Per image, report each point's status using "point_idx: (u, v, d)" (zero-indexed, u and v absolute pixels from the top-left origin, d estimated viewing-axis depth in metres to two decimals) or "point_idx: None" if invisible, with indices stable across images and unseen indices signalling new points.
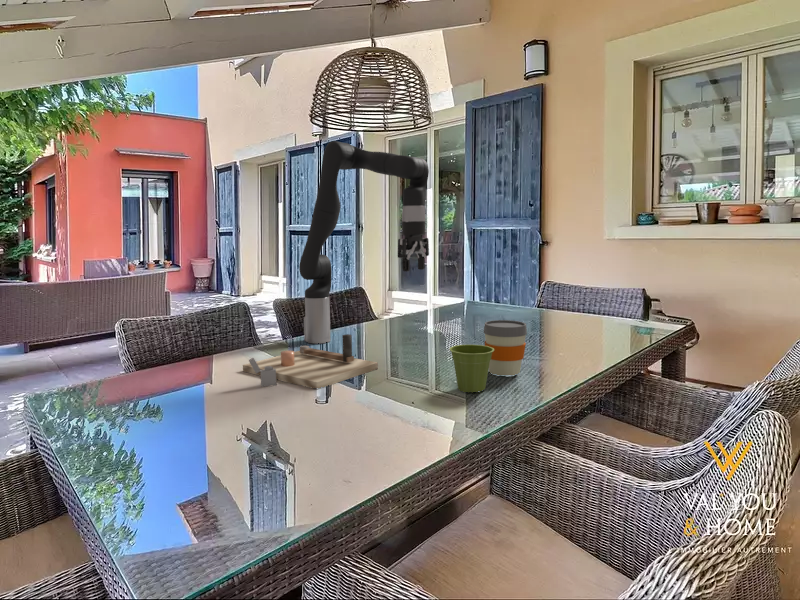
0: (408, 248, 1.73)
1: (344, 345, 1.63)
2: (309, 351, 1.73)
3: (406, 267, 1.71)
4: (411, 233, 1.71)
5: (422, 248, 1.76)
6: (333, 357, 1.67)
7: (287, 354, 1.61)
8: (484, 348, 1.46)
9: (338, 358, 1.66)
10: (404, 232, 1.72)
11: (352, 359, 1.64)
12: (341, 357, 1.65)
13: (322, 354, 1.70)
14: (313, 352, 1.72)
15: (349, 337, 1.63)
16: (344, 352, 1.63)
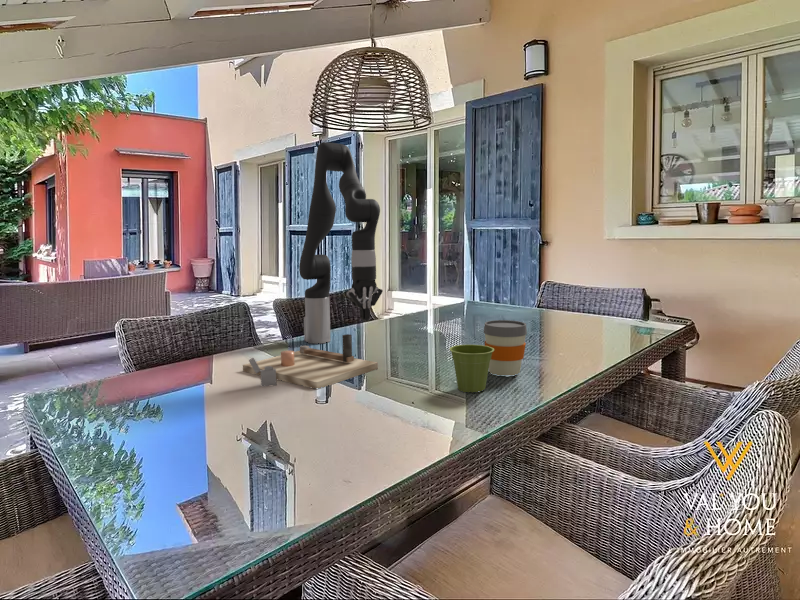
0: None
1: (344, 345, 1.63)
2: (309, 351, 1.73)
3: (363, 316, 1.66)
4: (357, 279, 1.63)
5: (370, 295, 1.66)
6: (333, 357, 1.67)
7: (287, 354, 1.61)
8: (484, 348, 1.46)
9: (338, 358, 1.66)
10: (352, 277, 1.64)
11: (352, 359, 1.64)
12: (341, 357, 1.65)
13: (322, 354, 1.70)
14: (313, 352, 1.72)
15: (349, 337, 1.63)
16: (344, 352, 1.63)
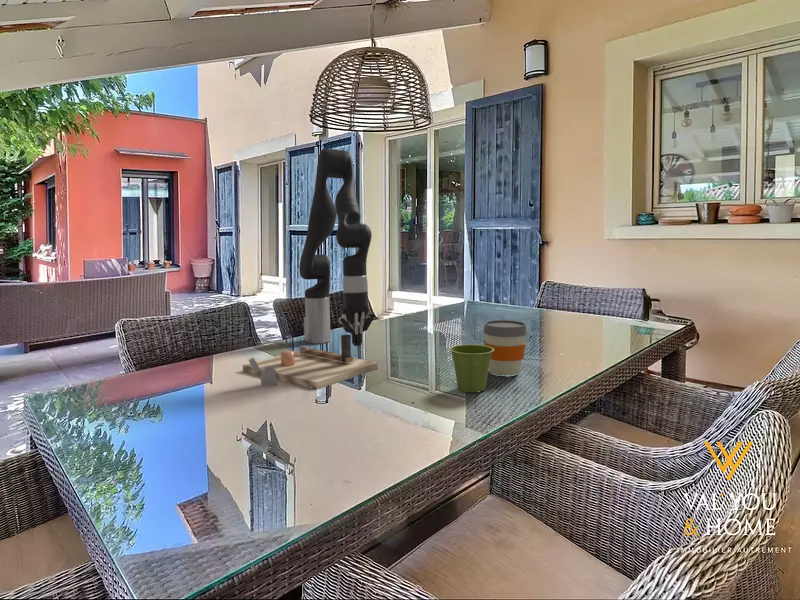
0: None
1: (343, 345, 1.63)
2: (309, 351, 1.73)
3: (355, 342, 1.65)
4: (349, 305, 1.61)
5: (362, 321, 1.65)
6: (332, 357, 1.66)
7: (287, 354, 1.61)
8: (484, 348, 1.46)
9: (337, 358, 1.65)
10: (344, 303, 1.63)
11: (351, 359, 1.64)
12: (340, 357, 1.64)
13: (321, 354, 1.69)
14: (313, 352, 1.72)
15: (348, 337, 1.62)
16: (343, 352, 1.63)
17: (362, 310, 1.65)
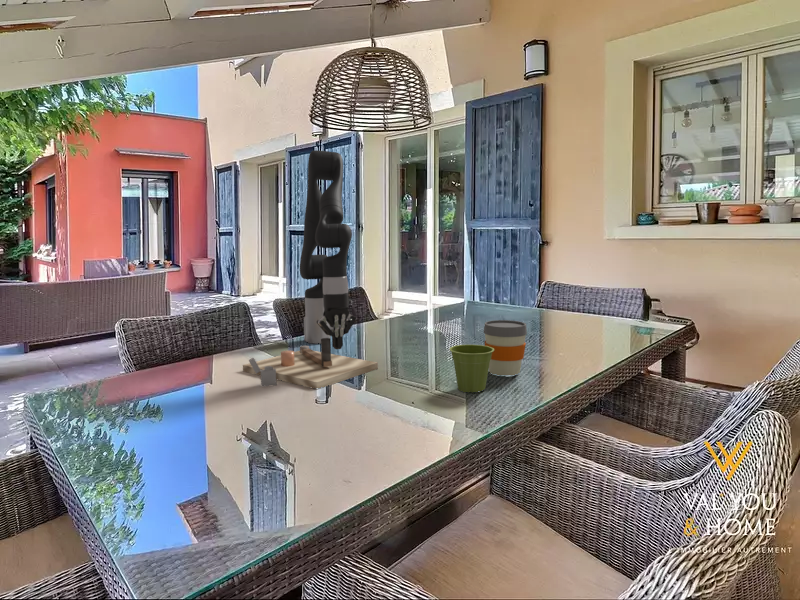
0: None
1: (321, 349, 1.58)
2: (304, 351, 1.72)
3: (335, 345, 1.60)
4: (329, 307, 1.57)
5: (342, 323, 1.60)
6: (316, 360, 1.63)
7: (287, 354, 1.61)
8: (484, 348, 1.46)
9: (319, 361, 1.62)
10: (323, 305, 1.58)
11: (330, 364, 1.59)
12: (320, 361, 1.60)
13: (311, 356, 1.67)
14: (306, 353, 1.71)
15: (326, 341, 1.58)
16: (321, 356, 1.59)
17: (343, 312, 1.60)
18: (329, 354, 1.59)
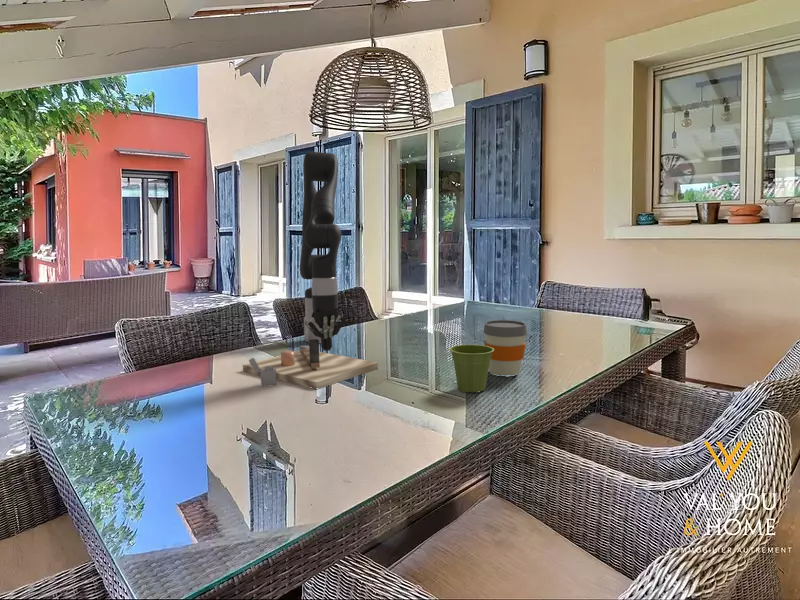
0: None
1: (309, 350, 1.57)
2: (302, 352, 1.72)
3: (324, 346, 1.59)
4: (317, 308, 1.55)
5: (331, 324, 1.58)
6: (307, 361, 1.62)
7: (287, 354, 1.61)
8: (484, 348, 1.46)
9: (309, 362, 1.60)
10: (312, 306, 1.57)
11: (317, 365, 1.57)
12: (309, 362, 1.59)
13: (305, 356, 1.67)
14: (303, 353, 1.71)
15: (313, 342, 1.56)
16: (309, 357, 1.58)
17: (332, 313, 1.59)
18: (317, 355, 1.57)
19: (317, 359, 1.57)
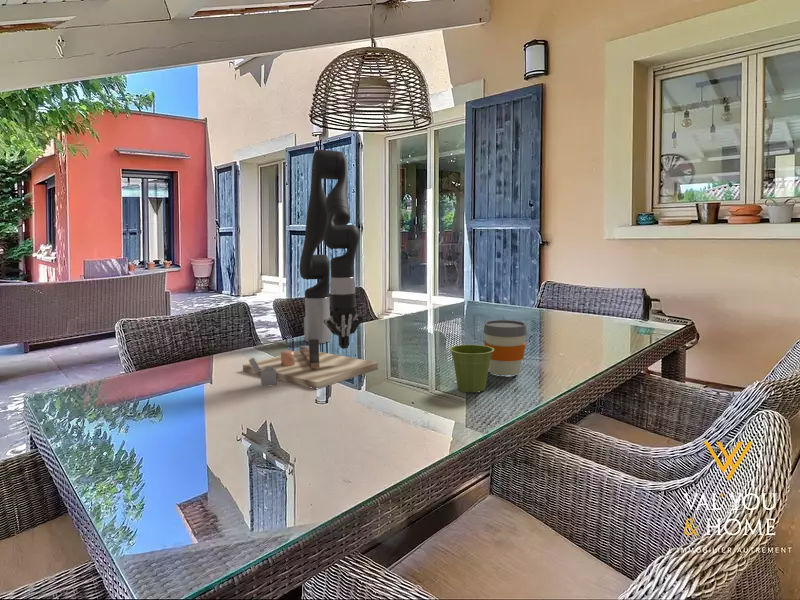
0: None
1: (309, 350, 1.57)
2: (302, 352, 1.72)
3: (342, 344, 1.63)
4: (336, 307, 1.59)
5: (349, 323, 1.62)
6: (307, 361, 1.62)
7: (287, 354, 1.61)
8: (484, 348, 1.46)
9: (308, 362, 1.60)
10: (331, 305, 1.61)
11: (317, 365, 1.57)
12: (309, 362, 1.59)
13: (305, 356, 1.67)
14: (303, 353, 1.71)
15: (313, 342, 1.56)
16: (309, 357, 1.58)
17: (349, 312, 1.63)
18: (316, 355, 1.57)
19: (317, 359, 1.57)
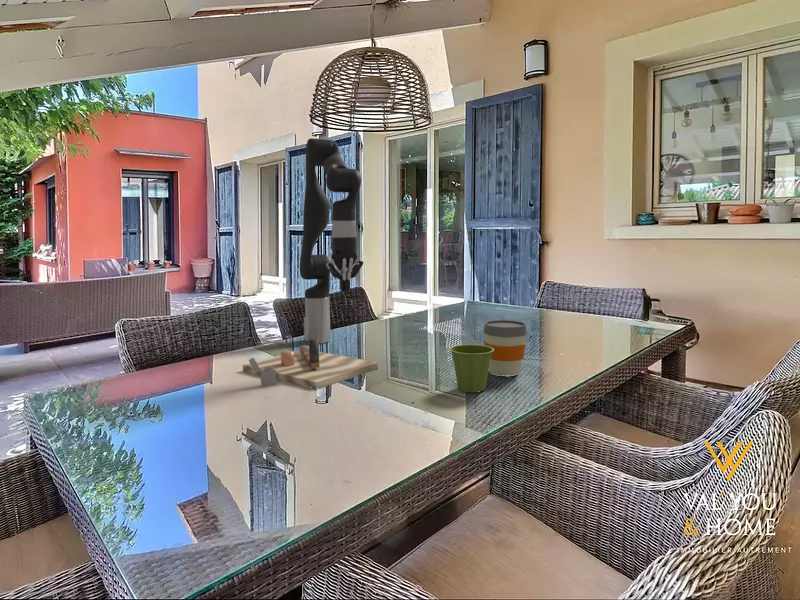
0: None
1: (309, 350, 1.57)
2: (302, 352, 1.72)
3: (343, 288, 1.65)
4: (337, 250, 1.61)
5: (350, 267, 1.64)
6: (307, 361, 1.62)
7: (287, 354, 1.61)
8: (484, 348, 1.46)
9: (308, 362, 1.60)
10: (332, 248, 1.63)
11: (317, 365, 1.57)
12: (309, 362, 1.59)
13: (305, 356, 1.67)
14: (303, 353, 1.71)
15: (313, 342, 1.56)
16: (309, 357, 1.58)
17: (350, 256, 1.65)
18: (316, 355, 1.57)
19: (317, 359, 1.57)
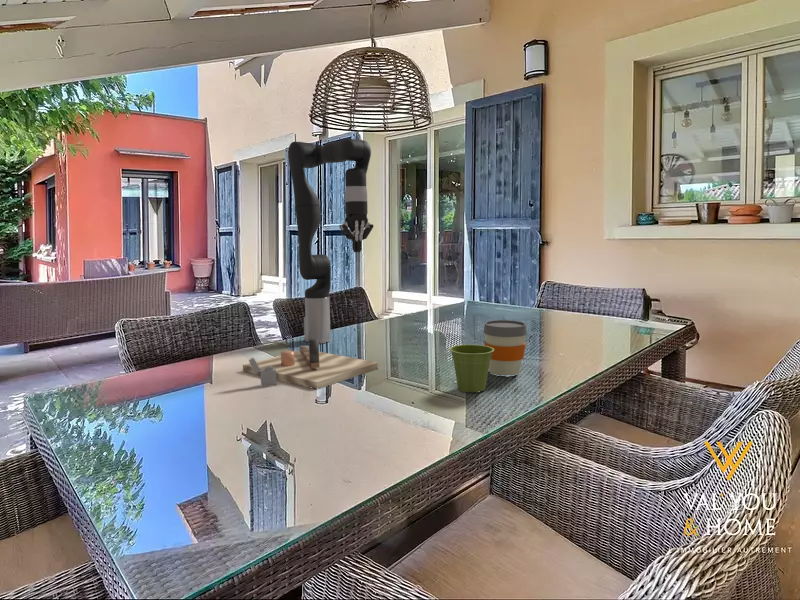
0: None
1: (309, 350, 1.57)
2: (302, 352, 1.72)
3: (355, 248, 1.81)
4: (350, 212, 1.78)
5: (361, 229, 1.81)
6: (307, 361, 1.62)
7: (287, 354, 1.61)
8: (484, 348, 1.46)
9: (308, 362, 1.60)
10: (345, 212, 1.80)
11: (317, 365, 1.57)
12: (309, 362, 1.59)
13: (305, 356, 1.67)
14: (303, 353, 1.71)
15: (313, 342, 1.56)
16: (309, 357, 1.58)
17: (362, 219, 1.81)
18: (316, 355, 1.57)
19: (317, 359, 1.57)
